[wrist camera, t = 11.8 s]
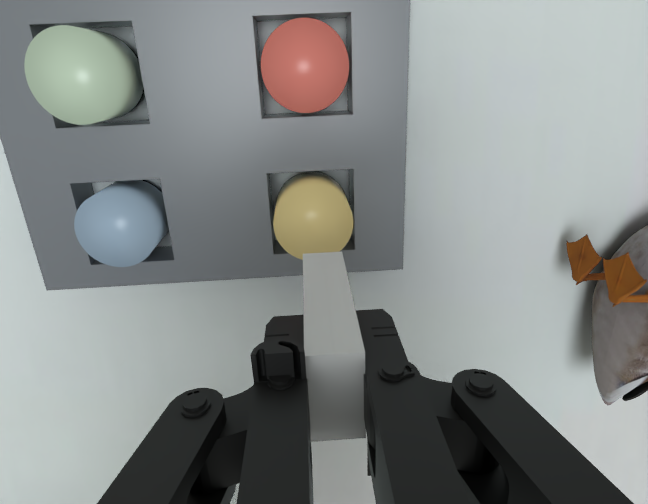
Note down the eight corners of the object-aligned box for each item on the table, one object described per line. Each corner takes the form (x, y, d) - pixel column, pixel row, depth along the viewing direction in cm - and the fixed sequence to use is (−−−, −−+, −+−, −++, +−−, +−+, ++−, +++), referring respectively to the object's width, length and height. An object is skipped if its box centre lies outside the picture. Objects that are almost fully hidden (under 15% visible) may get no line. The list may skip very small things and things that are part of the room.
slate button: (107, 248, 29) (84, 269, 26) (91, 180, 27) (65, 194, 24) (176, 244, 29) (162, 264, 26) (164, 176, 27) (148, 190, 24)
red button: (268, 109, 26) (264, 115, 23) (261, 25, 25) (256, 19, 22) (343, 106, 26) (349, 111, 23) (342, 22, 25) (348, 15, 22)
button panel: (66, 273, 30) (46, 290, 28) (-11, -1, 24) (-44, -9, 22) (394, 254, 31) (402, 269, 28) (400, -16, 25) (410, -25, 22)
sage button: (70, 120, 25) (39, 127, 22) (49, 32, 23) (12, 27, 20) (150, 116, 25) (130, 122, 22) (134, 29, 24) (110, 23, 21)
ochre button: (278, 242, 29) (276, 263, 25) (273, 173, 27) (269, 187, 24) (348, 238, 29) (354, 258, 26) (346, 170, 27) (352, 182, 24)
